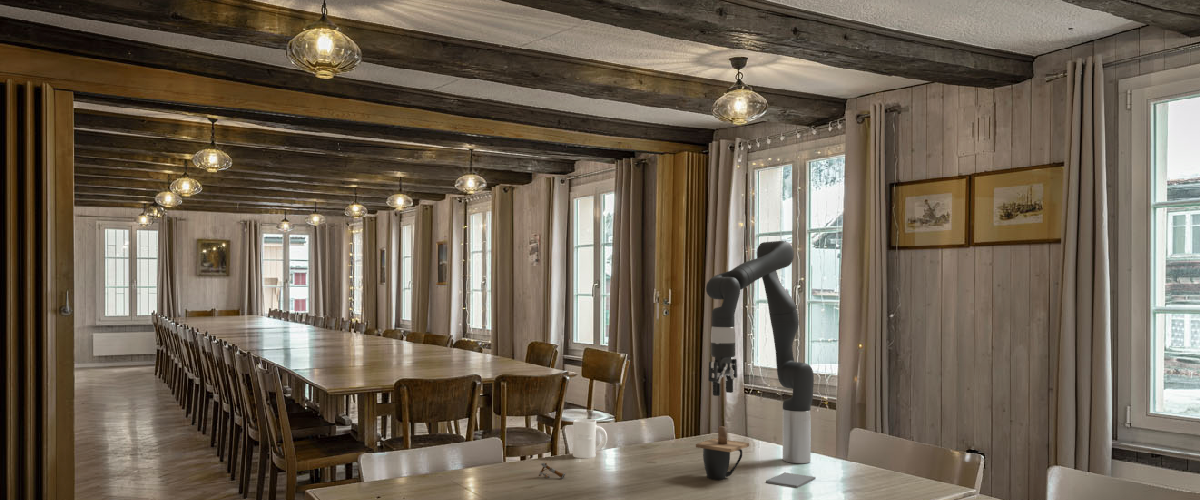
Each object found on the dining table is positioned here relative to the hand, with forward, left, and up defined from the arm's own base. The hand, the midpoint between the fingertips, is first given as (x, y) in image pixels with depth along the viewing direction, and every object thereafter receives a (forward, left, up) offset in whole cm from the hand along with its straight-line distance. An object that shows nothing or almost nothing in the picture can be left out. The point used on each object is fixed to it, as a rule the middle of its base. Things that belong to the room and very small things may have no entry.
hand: (723, 394), depth 253 cm
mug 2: (0, 0, -26) cm, 26 cm away
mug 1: (0, -51, -26) cm, 57 cm away
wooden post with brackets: (+33, -41, -26) cm, 58 cm away
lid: (0, 0, -16) cm, 16 cm away
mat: (-10, +18, -26) cm, 33 cm away
